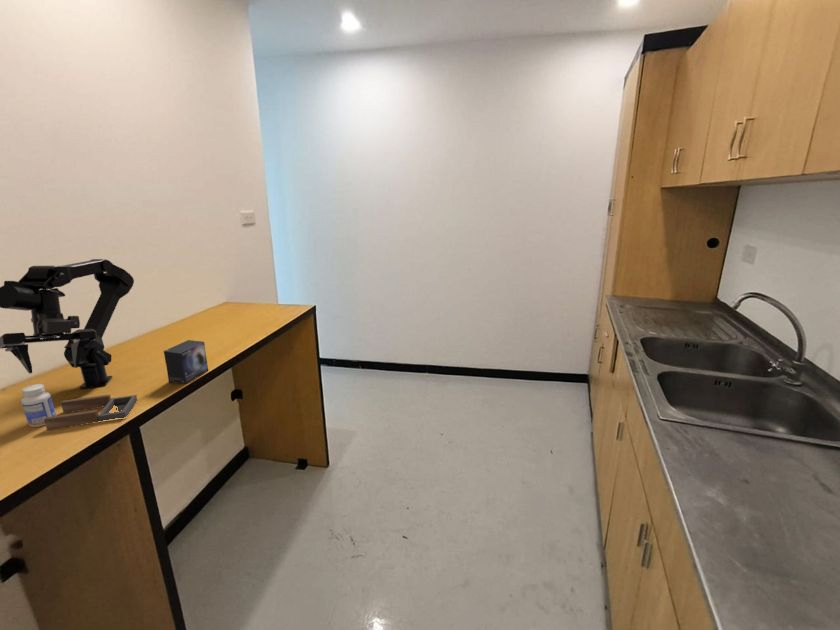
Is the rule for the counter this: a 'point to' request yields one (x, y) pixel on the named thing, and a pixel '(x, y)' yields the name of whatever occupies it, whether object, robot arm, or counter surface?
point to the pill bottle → (37, 405)
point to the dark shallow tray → (121, 403)
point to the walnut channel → (80, 417)
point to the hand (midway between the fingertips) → (54, 370)
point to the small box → (186, 361)
